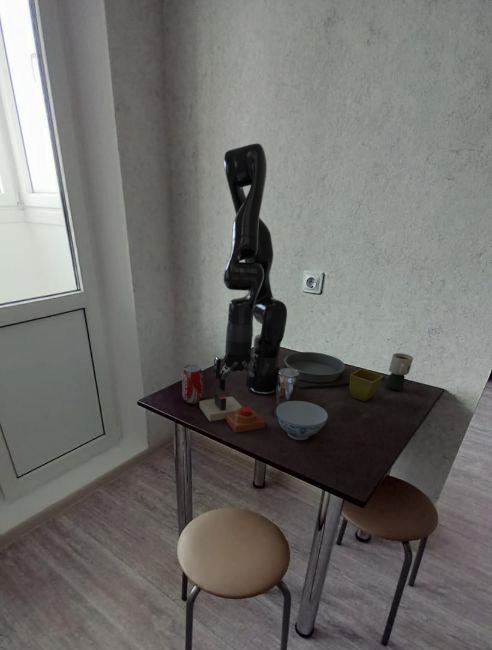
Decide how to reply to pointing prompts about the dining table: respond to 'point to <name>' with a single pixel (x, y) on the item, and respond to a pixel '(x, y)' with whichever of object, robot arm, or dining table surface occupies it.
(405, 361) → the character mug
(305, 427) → the chinaware
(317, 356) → the cake pan
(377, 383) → the flower pot
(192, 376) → the soda can
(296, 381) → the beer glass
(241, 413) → the button
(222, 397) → the oven dial
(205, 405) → the panel
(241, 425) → the housing
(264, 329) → the robot arm
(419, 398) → the dining table surface
